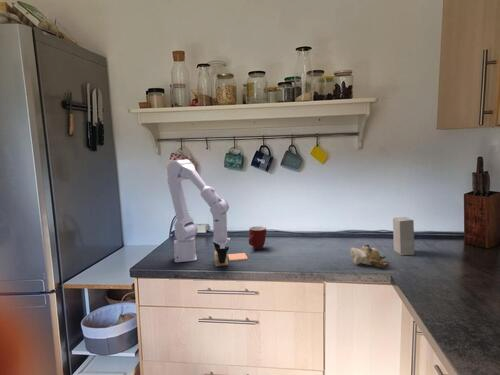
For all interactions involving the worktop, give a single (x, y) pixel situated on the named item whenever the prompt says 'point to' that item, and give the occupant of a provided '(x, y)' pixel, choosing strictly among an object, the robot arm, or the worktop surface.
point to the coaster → (237, 257)
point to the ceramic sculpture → (367, 256)
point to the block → (218, 260)
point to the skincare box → (403, 235)
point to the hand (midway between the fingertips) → (221, 260)
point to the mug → (257, 237)
